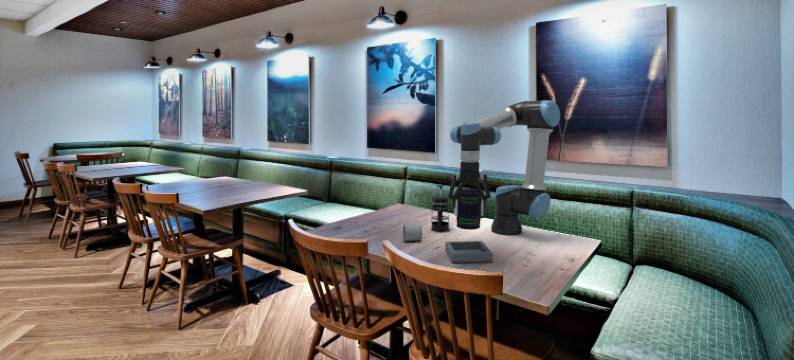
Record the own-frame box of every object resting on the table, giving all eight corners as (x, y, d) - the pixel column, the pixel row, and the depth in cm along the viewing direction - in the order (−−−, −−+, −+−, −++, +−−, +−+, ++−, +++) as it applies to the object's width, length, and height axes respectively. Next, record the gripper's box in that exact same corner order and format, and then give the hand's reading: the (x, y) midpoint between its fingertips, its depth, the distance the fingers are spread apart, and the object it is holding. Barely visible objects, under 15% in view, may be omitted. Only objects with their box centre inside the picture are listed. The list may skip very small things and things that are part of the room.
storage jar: (454, 223, 175) (454, 188, 173) (477, 223, 176) (478, 188, 173) (458, 229, 165) (459, 193, 163) (483, 229, 166) (484, 192, 163)
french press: (431, 226, 219) (432, 183, 216) (449, 227, 218) (450, 183, 214) (429, 232, 208) (430, 187, 204) (448, 233, 206) (449, 187, 203)
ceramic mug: (422, 242, 192) (422, 226, 191) (405, 243, 191) (405, 226, 190) (418, 236, 202) (418, 220, 201) (401, 236, 201) (401, 221, 200)
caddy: (481, 249, 181) (482, 240, 180) (492, 262, 165) (492, 252, 164) (445, 250, 180) (445, 241, 179) (452, 263, 164) (452, 253, 164)
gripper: (443, 162, 162) (442, 217, 165) (500, 161, 163) (498, 217, 167) (440, 160, 169) (439, 213, 173) (494, 159, 171) (492, 212, 174)
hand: (468, 215), depth 170 cm, fingers closed on storage jar, 10 cm apart
